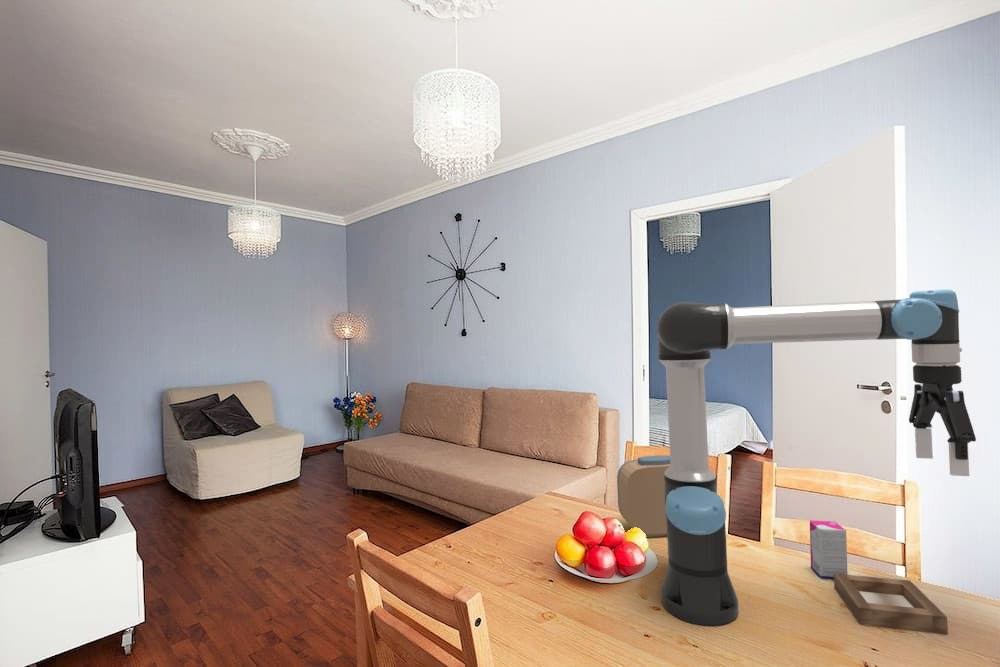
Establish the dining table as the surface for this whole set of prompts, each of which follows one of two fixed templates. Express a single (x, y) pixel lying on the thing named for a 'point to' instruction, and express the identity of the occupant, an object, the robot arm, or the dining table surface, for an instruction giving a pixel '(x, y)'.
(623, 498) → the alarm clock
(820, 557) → the supplement box
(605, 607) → the dining table surface
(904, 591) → the socket block
